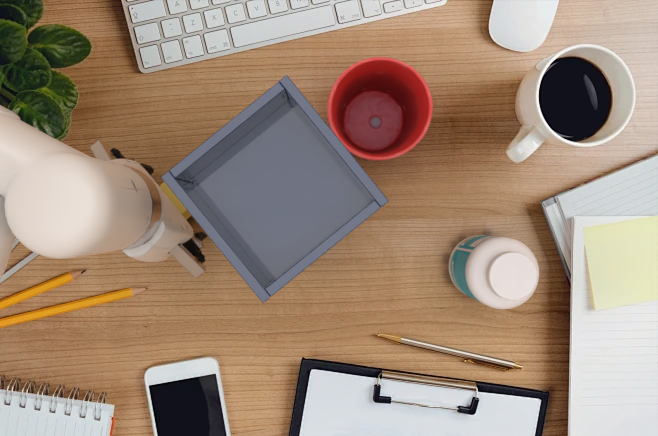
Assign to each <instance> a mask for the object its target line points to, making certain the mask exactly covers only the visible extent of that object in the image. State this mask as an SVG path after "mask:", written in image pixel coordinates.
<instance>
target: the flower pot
mask: <svg viewBox="0 0 658 436" xmlns="http://www.w3.org/2000/svg"><path fill="white" fill-rule="evenodd" d="M433 100H434V99H433V95H432V92H431V90H430V87H429V85H428V82H426V80H425V79H424V77H423V76H422V75H421V73H420V72H418V70H416V68H414V67H413V66H411V65H410V64H408V63H406V62H405V61H403V60H401V59H397V58H393V57H387V56H373V57H369V58H368V57H367V58H364V59H362V60H360V61H357V62H355V63H353V64H352V65H350V66H349V67H348V68H347V69H345V70H344V71H343V72H342V73H341V74H340V75H339V76H338V78H337V79H336V80H335V81H334V83H333V85H332V86H331V89H330V92H329V94H328V99H327V104H326V115H327V121H328V126H329V127H330V129H331V130H332V131H333V132H334V133H335V135H336V136H337V137H338V138H339V140H340V141H341V142H342V143H343V145H344V146H345V147H346V148H347V150H348V151H349V152H350V153H351V154H352V156H355V157H357V158H360V159H363V160H368V161H373V162H374V161H377V162H379V161H381V162H382V161H389V160H392V159H396V158H399V157H401V156H403V155H405V154H407V153H408V152H410V151H412V150H413V149H414V148H415V147H416V146H417V145H418V144H420V142H421V141H422V139H424V137H425V135H426V134H427V132H428V130H429V127H430V125H431V122H432V117H433V112H434V101H433Z"/></svg>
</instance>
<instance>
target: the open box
mask: <svg viewBox="0 0 658 436" xmlns="http://www.w3.org/2000/svg"><path fill="white" fill-rule="evenodd" d="M160 179H161V180H162V181H163V182H165V183H166V185H167V186H168V187H169V188H170V189H171V191H172V192H173V193H174V194H175V196H176V197H177V198H178V199H179V201H180V202H181V203H182V204H183V206H184V207H185V208H186V209H187V210H188V212H189V213H190V214H191V215H192V216H191V217H192V218H193V220H194V221H195V222H196V223H197V224H198V225H199V226H200V228H201V229H202V231H203V232H204V233H206V235H207V237H208V238H209V239H210V240H211V241H212V243H213V244H214V245H215V247H216V248H217V249H218V250H219V251H220V253H221V254H222V255H223V256H224V258H226V260H227V261H228V263H230V265H231V266H232V267H233V268H234V270H235V271H236V273H238V275H239V276H240V277H241V279H242V280H243V281H244V282H245V283H246V285H247V286H248V287H249V288H250V290H251V291H252V292H253V293H254V295H256V297H257V298H258V299H259V301H260V302H261V303H262V304H264V303H265V302H267V301H268V300H270V298H271V297H273V296H274V295H275V294H277V293H278V292H279V291H281V290H282V289H283V288H284V287H285V286H286V285H288V284H289V283H291V281H293V280H294V279H296V278H297V277H298V276H299V275H300V274H301V273H303V272H304V271H305V270H306V269H307V268H308V267H310V266H311V265H312V264H314V263H315V262H316V261H317V260H318V259H320V258H321V257H322V256H323V255H325V254H326V253H327V252H328V251H330V250H331V249H332V248H334V247H335V246H336V245H337V244H338V243H339V242H341V241H342V240H343V239H344V238H345V237H347V236H348V235H350V233H352V232H353V231H354V230H356V229H357V228H358V227H359V226H360V225H362V224H363V223H365V221H366V220H368V219H369V218H370V217H372V216H373V215H374V214H376V213H377V212H378V211H379V210H380V209H381V208H383V207H384V206H385V205H386V204H387V203H389V201H390V200H389V199H388V198H387V196H386V195H385V194H384V192H382V190H381V189H380V188H379V187H378V185H377V184H376V183H375V181H374V180H373V179H372V178H371V177H370V176H369V174H368V173H367V171H366V170H365V169H364V168H363V167H362V165H361V164H360V163H359V162H358V161H357V159H356V158H355V157H354V155H353V154H351V153H350V152H349V151H348V150H347V148H346V147H345V146H344V145H343V143H342V142H341V141H340V140H339V138H338V137H337V136H336V135H335V133H334V132H333V131H332V130H331V128H330V125H329V124H327V122H326V121H325V120H324V119H323V117H322V116H321V115H320V113H318V111H317V110H316V109H315V108H314V106H313V104H311V103H310V101H309V100H308V99H307V98H306V96H305V95H304V94H303V93H302V91H301V90H300V89H299V88H298V86H297V85H296V84H295V82H293V80H292V79H291V78H290V76H289V75H288V74H286V75H285V76H283V77H282V78H280V79H279V81H277V82H276V83H275V84H273V85H272V86H271V87H270V88H268V90H266V91H265V92H263V94H261V95H260V96H259V97H257V98H256V99H255V100H254V101H252V102H251V103H250V104H248V105H247V106H246V107H245V108H243V110H241V111H240V112H238V114H236V115H235V116H234V117H233V118H231V119H230V120H229V121H228V122H226V123H225V124H224V125H223V126H221V127H220V128H219V129H218V130H217V131H215V132H214V133H213V134H212V135H210V136H209V137H208V138H207V139H206V140H204V141H203V142H202V143H200V144H199V145H198V146H197V147H196V148H195V149H193V150H192V151H191V152H190V153H188V154H186V156H185V157H183V158H182V159H181V160H180V161H178V162H177V163H175V165H173V166H172V167H171V168H170V169H169V170H167V171H166V172H165V173H164V174H162V175H161V176H160Z"/></svg>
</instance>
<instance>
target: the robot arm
mask: <svg viewBox="0 0 658 436" xmlns="http://www.w3.org/2000/svg"><path fill="white" fill-rule="evenodd" d="M89 149H90V151H91V152H92V154H93V156H94V157H92V156H90V155H88V154H86V153H84V152H82V151H80V150H78V149H77V148H74V147H72V146H70V145H68V144H66V143H64V142H63V141H61V140H59V139H56V138H55V137H53V136H51V135H49V134H47V133H45V132H44V131H41V130H39V129H37V128H36V127H34V126H32V125H31V124H29V123H27V122H25V121H23V120H21V117H20V116H19V115H18V114H17V113H16V112H14V111H12V110H11V109H8V108H7V107H5V106H3V105H1V104H0V280H1V279H2V277H3V275H4V274H5V272H6V270H7V267H8V263H9V260H10V257H11V254H12V250H13V248H14V245H15V242H16V239H17V241H19V242H20V243H21V244H22V245H23V246H24V247H25V248H27V249H28V250H29V251H30V252H33V253H35V254H37V255H39V256H42V257H45V258H50V259H55V260H66V259H67V260H69V259H75V258H81V257H87V256H94V255H101V254H106V253H113V252H119V251H120V252H122V253H124V254H125V255H126V256H127V257H129V258H131V259H134V260H136V261H140V262H146V263H158V262H163V261H165V260H167V259H168V258H170V257H173V258H174V259H175V260H176V261H177V262H178V263H179V264H180V265H181V266H182V267H183V268H184V269H185V270H186V271H187V272H188V273H189V274H191V275H192V276H193V278H195V279H197V280H198V279H199V278H200V277H201V276H202V275H203V274H205V273H206V272H207V268H206V265H205V262H206V256H205V254H204V253H203V252H202V250H201V249H203V248H204V247H205V245H204V243H203V241H204V240H206V239H207V238H208V235H207V234H206V233H205V232H204V231H199V232H198V231H197V232H195V233H194V228H193V227H192V225H191V224H190V223H189V221H188V219H187V220H186V219H185V218H184V216H183V215H182V214H181V213H180V211H179V210H178V209H177V208H176V206H175V205H174V204H173V203H172V201H171V200H170V199H169V198H168V196H167V195H166V194H165V193H164V191H163V190H162V189H161V188H160V187H159V186H160V184H158V183H157V181H156V180H155V179H154V178H153V177H152V174H154V172H155V169H154V168H153V167H152V165H148V164H145V163H141V162H137V160H136V159H135V158H134V157H132V156H131V157H129V158H126V157H125V156H124V155H123V154H122V153H121V150H119V149H118V148H115V147H112V148H111V147H110V146H109V145H108V144H106V143H105V142H104V141H102V139H99V138H98V139H96V141H95V142H94V143H92V144H91V145H90V146H89Z"/></svg>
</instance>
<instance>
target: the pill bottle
mask: <svg viewBox="0 0 658 436" xmlns="http://www.w3.org/2000/svg"><path fill="white" fill-rule="evenodd" d="M448 274H449V277H450V280H451V282H452V284H453V285H454V287H455V288H456V289H457V290H458V291H460V292H461V293H462V294H464V295H466V296H467V297H469V298H471V299H473V300H475V301H477V302H479V303H481V304H483V305H485V306H487V307H489V308H492V309H497V310H510V309H514V308H517V307H520V306H521V305H523V304H525V302H527V301H528V300H529V299H530V298H531V297H532V296H533V294H534V293H535V291H536V289H537V287H538V283H539V279H540V267H539V263H538V260H537V257H536V256H535V254H534V253H533V251H532V250H531V249H530V247H528V246H527V245H526V244H525V243H523V242H522V241H520V240H518V239H515V238H512V237H507V236H498V235H486V234H475V235H472V236H471V235H470V236H467V237H465V238H464V239H462V240H461V241H460V242H458V243H457V244H456V245H455V247H454V248H453V249H452V251H451V253H450V255H449V258H448Z"/></svg>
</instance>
